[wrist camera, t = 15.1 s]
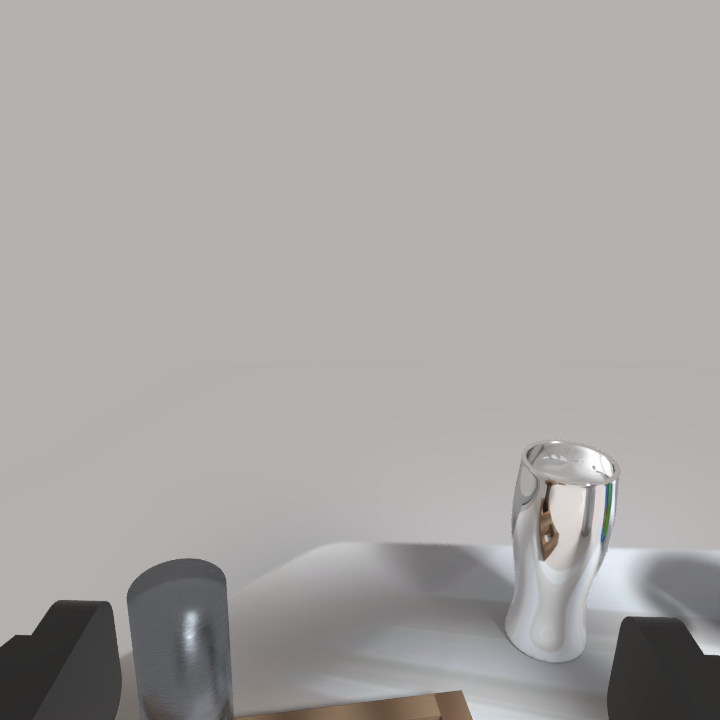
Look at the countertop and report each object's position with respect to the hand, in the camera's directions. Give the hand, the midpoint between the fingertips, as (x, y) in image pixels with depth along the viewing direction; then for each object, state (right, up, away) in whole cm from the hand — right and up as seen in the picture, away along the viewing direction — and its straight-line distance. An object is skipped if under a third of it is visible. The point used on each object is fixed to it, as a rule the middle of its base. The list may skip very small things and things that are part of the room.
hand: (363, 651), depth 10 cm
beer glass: (+14, -17, +39) cm, 44 cm away
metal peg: (-9, -21, +24) cm, 33 cm away
